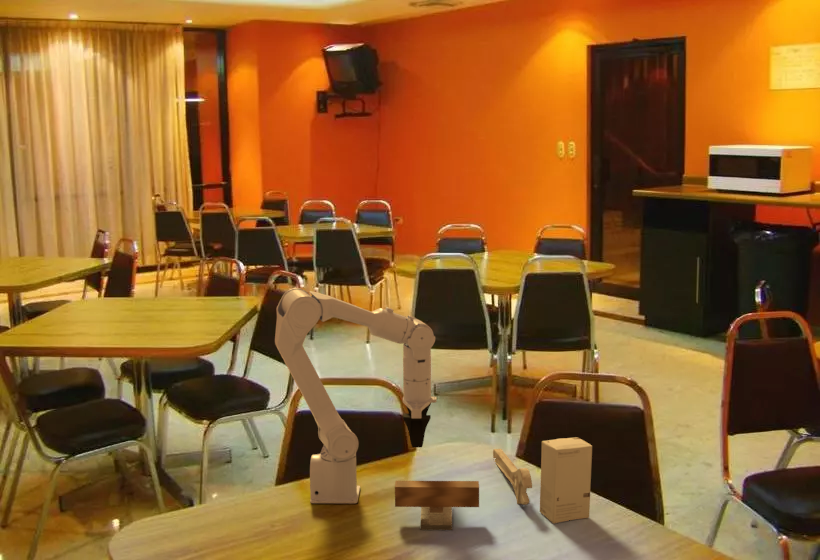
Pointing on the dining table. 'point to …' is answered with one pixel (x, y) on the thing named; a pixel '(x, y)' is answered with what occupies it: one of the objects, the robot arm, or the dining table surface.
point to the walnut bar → (437, 494)
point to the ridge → (436, 518)
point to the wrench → (514, 476)
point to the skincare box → (565, 479)
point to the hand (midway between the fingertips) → (417, 440)
